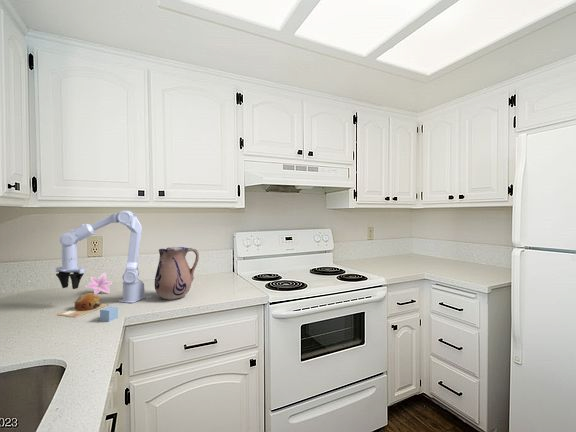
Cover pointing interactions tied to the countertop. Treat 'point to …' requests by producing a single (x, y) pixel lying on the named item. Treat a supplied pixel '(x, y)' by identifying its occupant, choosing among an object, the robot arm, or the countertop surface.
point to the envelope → (78, 312)
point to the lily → (99, 284)
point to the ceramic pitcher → (174, 272)
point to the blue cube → (108, 314)
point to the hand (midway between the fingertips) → (70, 288)
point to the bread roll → (87, 302)
